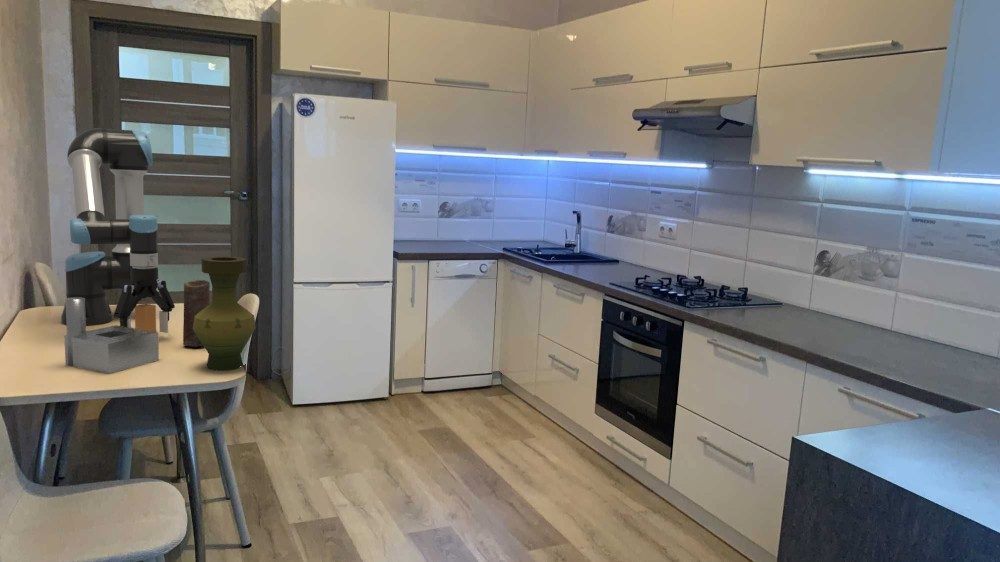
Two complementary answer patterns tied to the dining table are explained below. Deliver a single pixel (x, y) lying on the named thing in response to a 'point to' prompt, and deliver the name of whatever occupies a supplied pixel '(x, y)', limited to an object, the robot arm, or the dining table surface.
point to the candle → (194, 308)
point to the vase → (224, 315)
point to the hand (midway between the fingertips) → (145, 336)
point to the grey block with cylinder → (105, 343)
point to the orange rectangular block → (145, 317)
